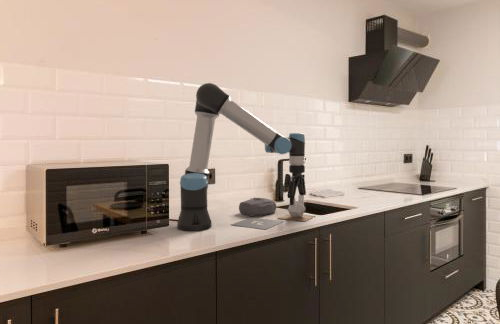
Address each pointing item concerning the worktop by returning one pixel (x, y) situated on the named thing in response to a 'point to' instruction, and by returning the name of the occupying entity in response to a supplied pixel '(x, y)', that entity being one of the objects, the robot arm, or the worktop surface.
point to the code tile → (257, 223)
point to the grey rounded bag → (257, 207)
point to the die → (297, 210)
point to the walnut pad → (303, 219)
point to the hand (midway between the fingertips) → (296, 209)
